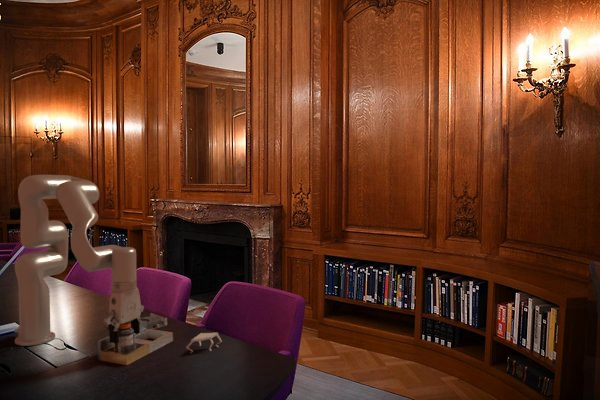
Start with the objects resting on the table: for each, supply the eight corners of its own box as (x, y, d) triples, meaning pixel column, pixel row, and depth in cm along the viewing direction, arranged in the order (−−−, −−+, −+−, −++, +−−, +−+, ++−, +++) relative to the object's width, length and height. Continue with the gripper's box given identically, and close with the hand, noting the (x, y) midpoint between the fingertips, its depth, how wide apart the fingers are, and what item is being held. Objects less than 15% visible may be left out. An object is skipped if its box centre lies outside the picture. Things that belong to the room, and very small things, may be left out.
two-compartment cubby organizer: (96, 359, 147) (96, 341, 147) (145, 336, 169) (145, 320, 169) (126, 365, 143) (126, 346, 143) (172, 340, 165) (172, 324, 165)
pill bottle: (118, 353, 152) (117, 320, 152) (136, 353, 153) (136, 319, 152) (112, 360, 146) (111, 325, 146) (131, 360, 147) (131, 325, 146)
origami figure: (204, 342, 164) (204, 328, 163) (223, 347, 159) (223, 333, 159) (180, 353, 153) (180, 338, 153) (198, 358, 149) (198, 343, 149)
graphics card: (152, 311, 191) (167, 317, 182) (152, 320, 191) (167, 326, 182) (112, 321, 179) (126, 327, 170) (112, 330, 179) (126, 337, 170)
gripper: (114, 292, 139) (114, 348, 140) (151, 281, 155) (151, 331, 156) (94, 290, 142) (95, 345, 143) (133, 279, 158) (133, 328, 159)
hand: (125, 337), depth 149 cm, fingers open, 9 cm apart
